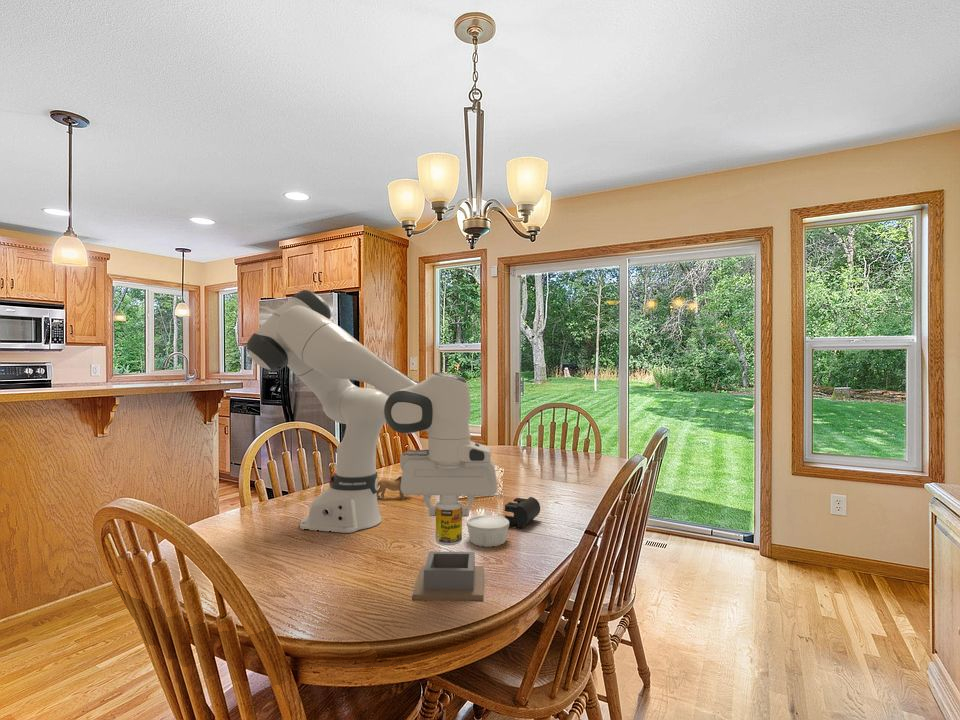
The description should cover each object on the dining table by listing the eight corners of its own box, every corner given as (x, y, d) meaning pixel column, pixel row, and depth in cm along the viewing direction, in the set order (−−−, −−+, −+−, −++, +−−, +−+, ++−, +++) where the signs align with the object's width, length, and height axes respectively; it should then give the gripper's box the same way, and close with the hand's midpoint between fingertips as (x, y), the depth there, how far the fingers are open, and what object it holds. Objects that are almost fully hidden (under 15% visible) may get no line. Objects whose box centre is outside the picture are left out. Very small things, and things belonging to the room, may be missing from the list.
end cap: (527, 531, 143) (527, 506, 143) (504, 527, 146) (504, 503, 146) (540, 520, 152) (540, 497, 152) (518, 517, 155) (518, 494, 155)
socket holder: (412, 599, 103) (412, 574, 102) (421, 570, 117) (421, 548, 116) (483, 600, 102) (483, 575, 102) (483, 570, 116) (483, 548, 116)
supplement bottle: (437, 547, 106) (437, 497, 106) (434, 538, 111) (433, 490, 111) (464, 545, 107) (464, 495, 107) (459, 536, 112) (459, 489, 112)
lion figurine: (414, 495, 179) (414, 469, 179) (415, 499, 174) (415, 472, 174) (370, 498, 176) (370, 471, 176) (371, 502, 171) (371, 475, 170)
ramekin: (480, 531, 143) (480, 512, 143) (516, 538, 137) (516, 518, 137) (458, 543, 133) (458, 523, 133) (496, 552, 128) (496, 530, 128)
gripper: (397, 452, 106) (397, 519, 106) (497, 453, 106) (497, 521, 106) (402, 447, 112) (402, 510, 113) (497, 447, 112) (496, 511, 112)
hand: (449, 515), depth 109 cm, fingers closed on supplement bottle, 5 cm apart
